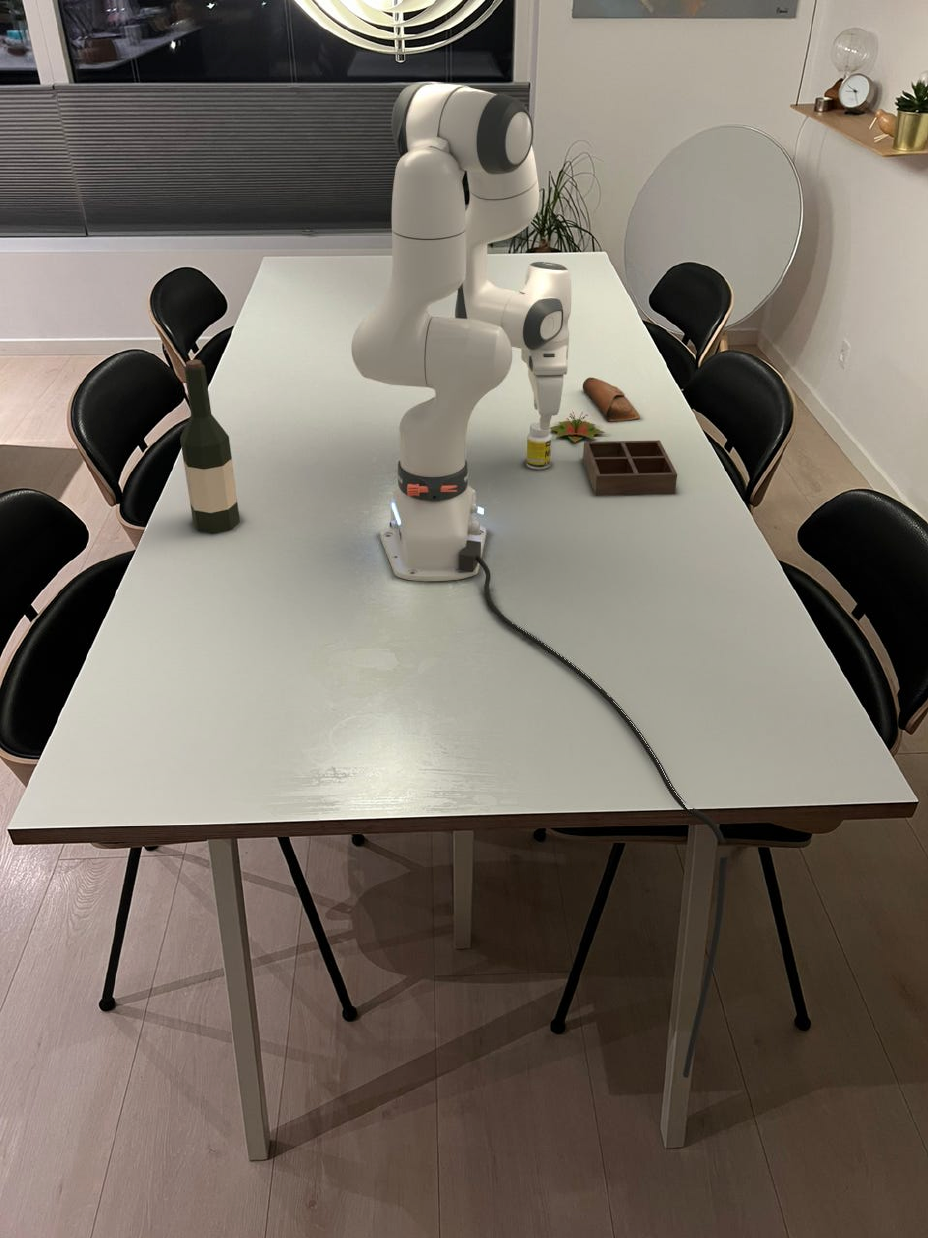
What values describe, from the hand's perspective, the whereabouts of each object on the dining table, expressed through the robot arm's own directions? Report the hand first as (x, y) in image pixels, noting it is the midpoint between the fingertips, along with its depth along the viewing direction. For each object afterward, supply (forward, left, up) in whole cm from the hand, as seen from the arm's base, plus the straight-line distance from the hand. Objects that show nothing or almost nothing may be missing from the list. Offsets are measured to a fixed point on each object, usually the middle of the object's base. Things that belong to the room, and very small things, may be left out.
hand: (541, 418), depth 205 cm
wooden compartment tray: (-6, -17, -10) cm, 20 cm away
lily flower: (+15, -10, -10) cm, 20 cm away
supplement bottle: (0, 0, -10) cm, 10 cm away
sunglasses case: (+30, -20, -10) cm, 37 cm away
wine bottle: (-21, +61, -10) cm, 66 cm away
